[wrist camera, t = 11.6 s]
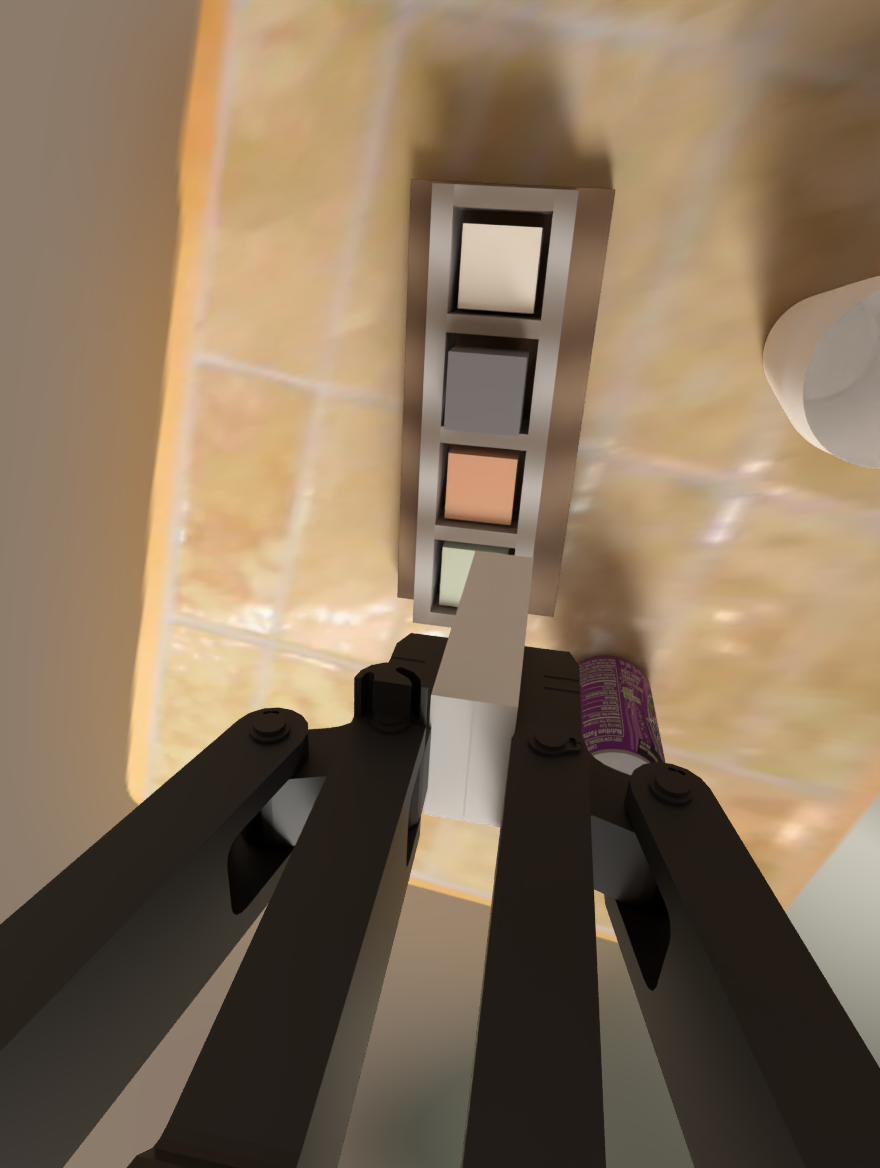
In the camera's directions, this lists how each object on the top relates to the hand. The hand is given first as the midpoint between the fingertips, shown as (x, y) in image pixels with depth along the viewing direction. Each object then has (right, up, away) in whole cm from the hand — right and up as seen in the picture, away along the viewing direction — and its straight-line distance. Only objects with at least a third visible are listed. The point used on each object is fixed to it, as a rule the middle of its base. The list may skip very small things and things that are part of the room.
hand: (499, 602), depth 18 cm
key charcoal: (+1, +13, +24) cm, 27 cm away
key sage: (+1, +2, +32) cm, 32 cm away
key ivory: (+2, +20, +24) cm, 31 cm away
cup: (+22, +15, +25) cm, 37 cm away
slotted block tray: (+2, +12, +30) cm, 33 cm away
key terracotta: (+2, +8, +29) cm, 30 cm away
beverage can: (+12, -8, +38) cm, 41 cm away
